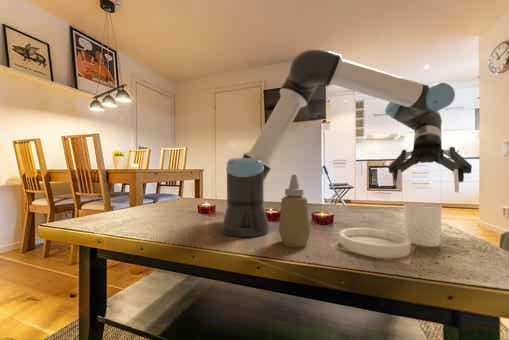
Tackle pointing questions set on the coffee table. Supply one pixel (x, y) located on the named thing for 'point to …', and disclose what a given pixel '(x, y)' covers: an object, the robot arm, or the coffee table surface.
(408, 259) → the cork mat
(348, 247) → the dish
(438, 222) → the white cup
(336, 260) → the coffee table surface
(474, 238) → the coffee table surface
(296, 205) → the squeeze bottle
